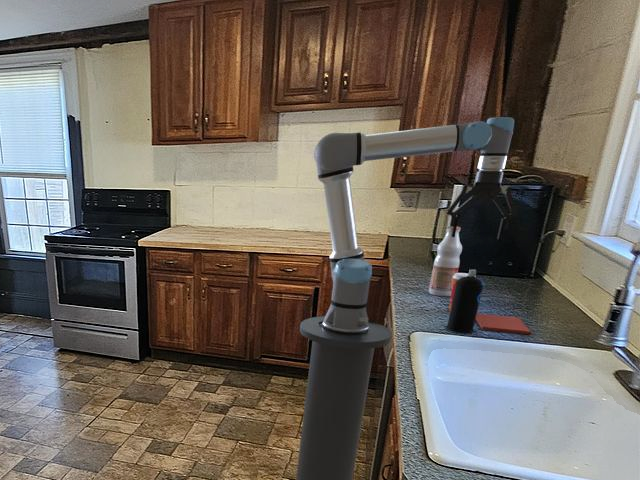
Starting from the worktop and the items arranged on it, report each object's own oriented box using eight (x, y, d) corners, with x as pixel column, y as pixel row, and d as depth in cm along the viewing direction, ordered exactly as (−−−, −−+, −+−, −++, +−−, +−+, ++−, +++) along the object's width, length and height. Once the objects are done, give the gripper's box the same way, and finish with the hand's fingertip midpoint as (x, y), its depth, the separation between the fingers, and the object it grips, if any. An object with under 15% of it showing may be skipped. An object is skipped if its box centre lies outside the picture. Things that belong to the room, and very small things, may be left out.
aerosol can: (451, 332, 173) (464, 272, 166) (442, 325, 181) (454, 267, 174) (477, 333, 172) (492, 273, 165) (467, 326, 180) (481, 268, 173)
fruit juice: (423, 291, 228) (436, 225, 218) (443, 291, 229) (457, 225, 219) (437, 297, 219) (451, 228, 209) (457, 296, 220) (472, 228, 210)
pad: (481, 329, 177) (482, 326, 176) (473, 315, 192) (474, 313, 192) (530, 334, 172) (531, 331, 172) (518, 320, 188) (518, 317, 187)
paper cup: (457, 308, 202) (465, 272, 197) (473, 313, 195) (482, 276, 190) (440, 309, 200) (448, 273, 195) (456, 315, 193) (464, 277, 188)
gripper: (447, 170, 170) (435, 237, 177) (539, 171, 161) (521, 241, 169) (445, 169, 176) (433, 234, 184) (533, 170, 168) (516, 238, 175)
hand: (475, 238), depth 176 cm, fingers open, 13 cm apart
